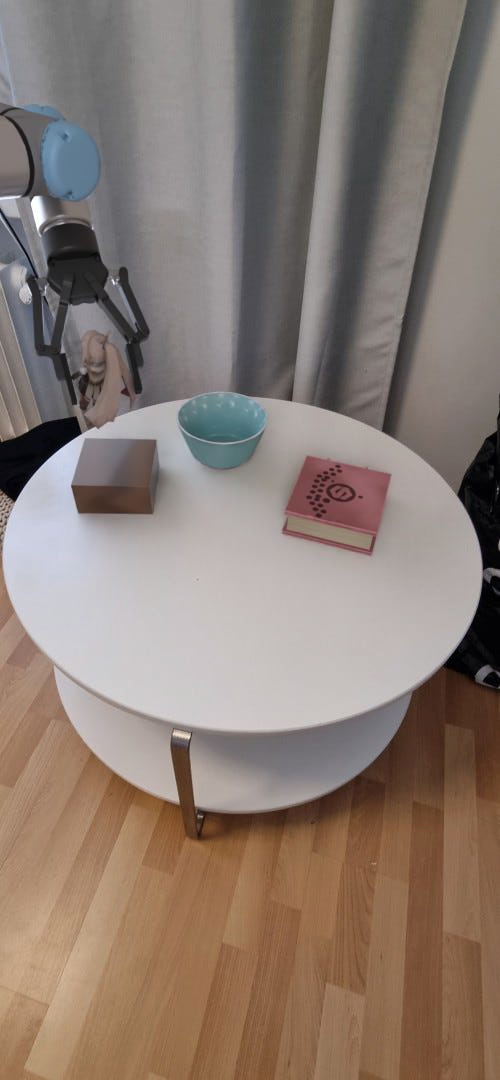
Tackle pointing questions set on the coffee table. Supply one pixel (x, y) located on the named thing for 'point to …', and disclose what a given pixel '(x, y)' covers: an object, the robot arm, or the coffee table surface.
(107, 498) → the walnut block
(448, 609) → the coffee table surface
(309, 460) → the book
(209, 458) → the bowl
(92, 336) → the toy
